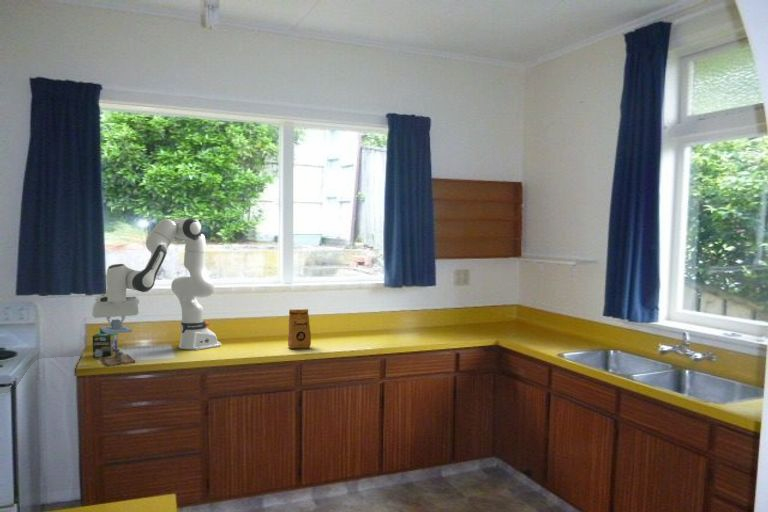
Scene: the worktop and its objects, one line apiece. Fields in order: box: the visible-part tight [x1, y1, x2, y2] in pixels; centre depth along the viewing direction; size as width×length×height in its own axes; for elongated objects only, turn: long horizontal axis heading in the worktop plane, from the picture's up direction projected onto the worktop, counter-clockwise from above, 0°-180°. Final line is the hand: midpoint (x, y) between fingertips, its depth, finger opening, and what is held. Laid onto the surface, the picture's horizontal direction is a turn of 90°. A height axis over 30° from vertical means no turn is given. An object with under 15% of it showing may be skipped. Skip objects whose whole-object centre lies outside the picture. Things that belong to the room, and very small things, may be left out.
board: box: [101, 347, 136, 368], centre depth 267 cm, size 12×16×5 cm
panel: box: [99, 319, 132, 334], centre depth 266 cm, size 11×15×5 cm
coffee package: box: [287, 308, 312, 350], centre depth 305 cm, size 10×12×22 cm
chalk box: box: [91, 328, 119, 358], centre depth 279 cm, size 9×9×15 cm
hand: (115, 325), depth 266 cm, fingers closed on panel, 3 cm apart
